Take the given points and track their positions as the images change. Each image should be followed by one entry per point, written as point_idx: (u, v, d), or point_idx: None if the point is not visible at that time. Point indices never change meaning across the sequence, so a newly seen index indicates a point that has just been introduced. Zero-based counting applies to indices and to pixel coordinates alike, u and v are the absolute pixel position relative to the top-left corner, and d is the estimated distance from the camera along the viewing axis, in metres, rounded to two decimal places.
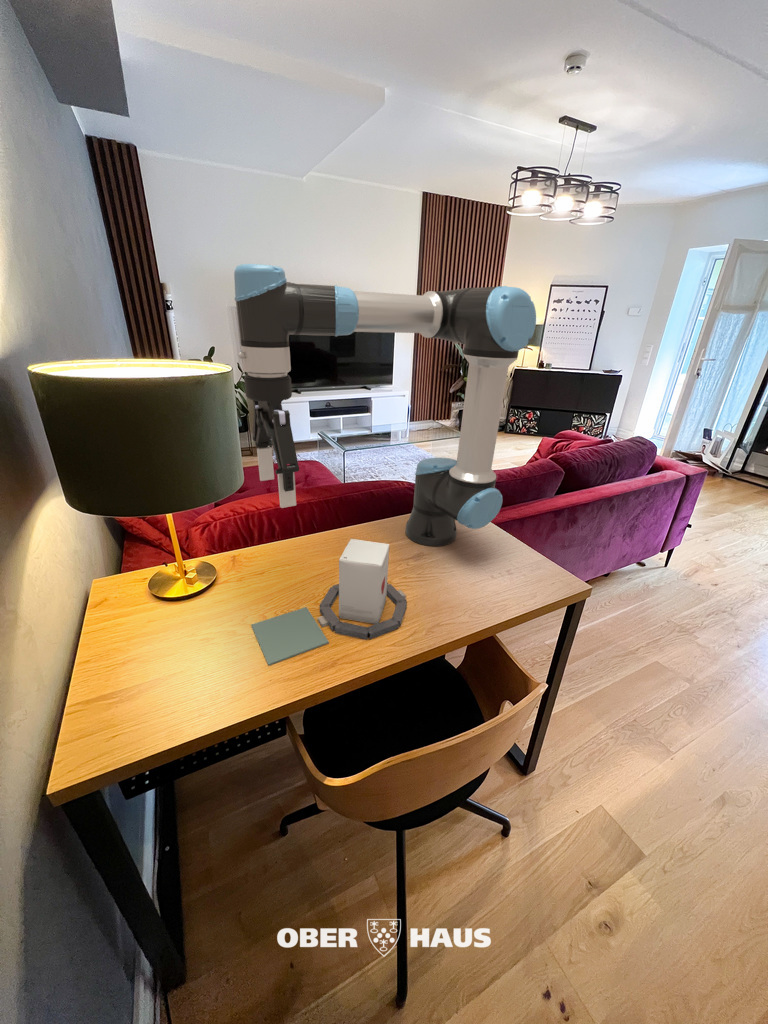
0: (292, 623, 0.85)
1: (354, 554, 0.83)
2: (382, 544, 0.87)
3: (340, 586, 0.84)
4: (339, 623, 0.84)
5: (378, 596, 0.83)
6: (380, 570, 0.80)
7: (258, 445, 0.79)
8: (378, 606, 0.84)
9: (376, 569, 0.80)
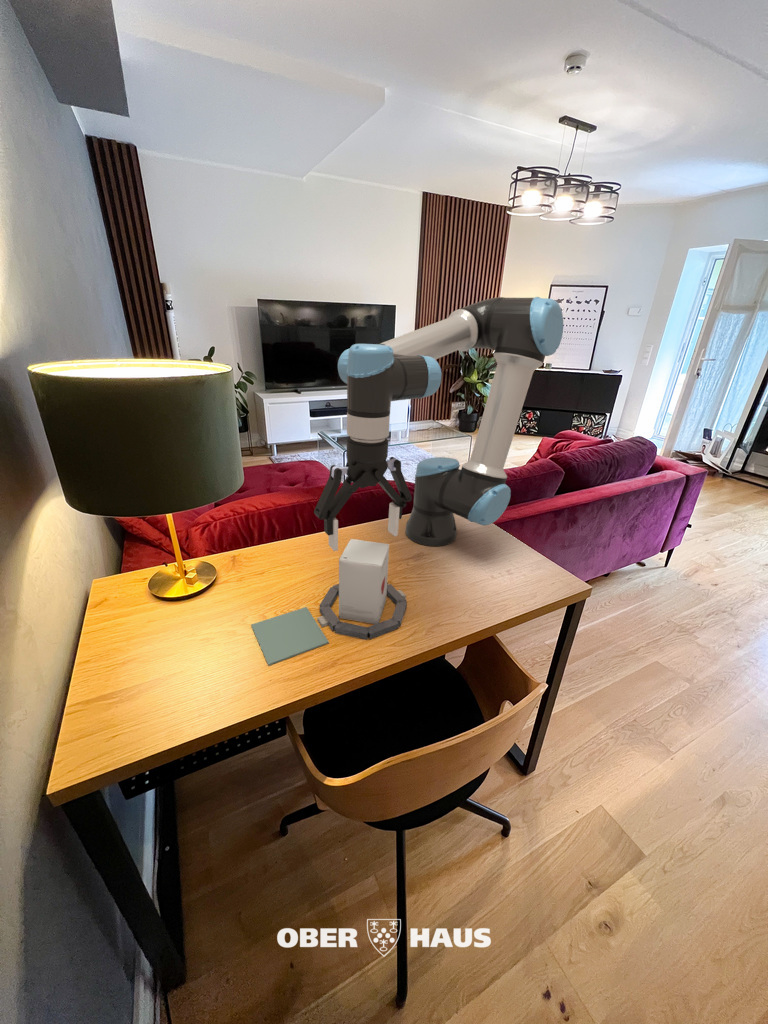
0: (292, 623, 0.85)
1: (354, 554, 0.83)
2: (382, 544, 0.87)
3: (340, 586, 0.84)
4: (339, 623, 0.84)
5: (378, 596, 0.83)
6: (380, 570, 0.80)
7: (393, 500, 0.84)
8: (378, 606, 0.84)
9: (376, 570, 0.80)
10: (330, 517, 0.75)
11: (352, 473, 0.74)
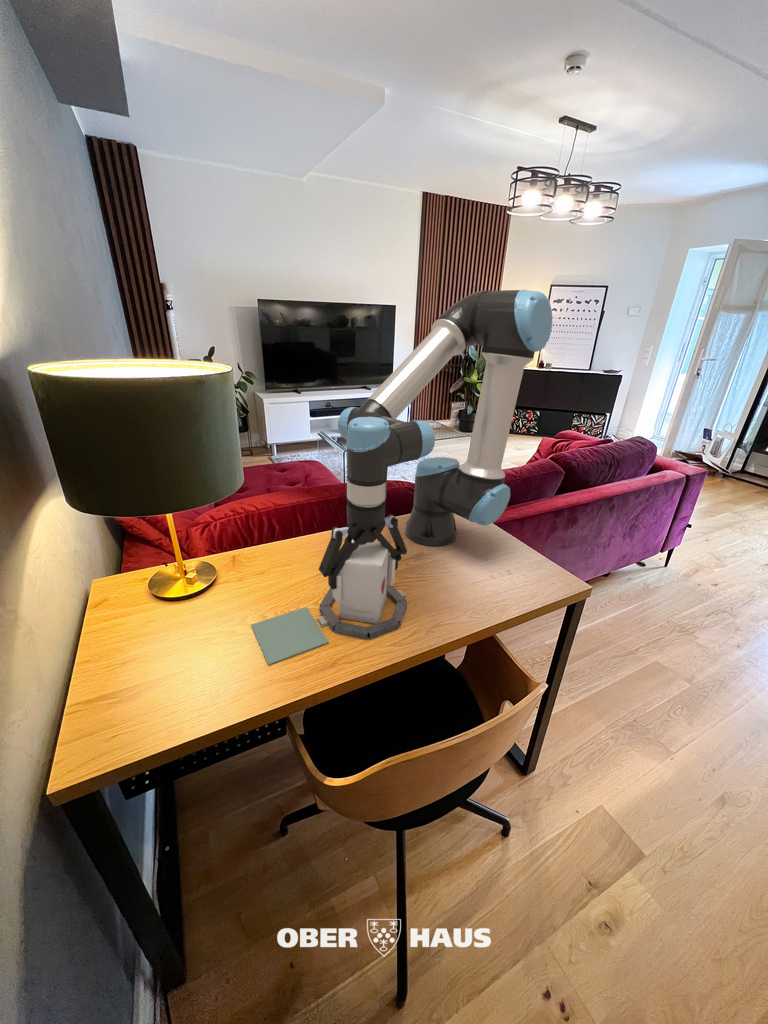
0: (292, 623, 0.85)
1: (354, 554, 0.83)
2: None
3: None
4: (339, 623, 0.84)
5: (378, 596, 0.83)
6: (380, 570, 0.80)
7: (389, 552, 0.89)
8: (378, 606, 0.84)
9: (376, 569, 0.80)
10: (334, 574, 0.81)
11: (352, 533, 0.79)
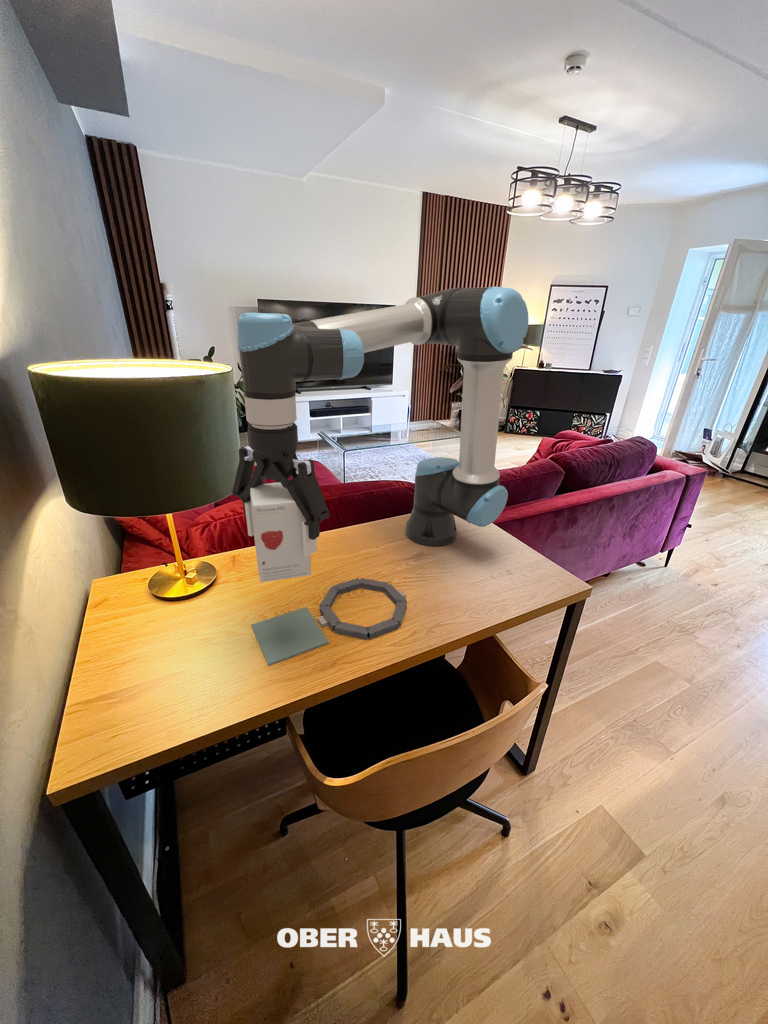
0: (292, 623, 0.85)
1: (265, 488, 0.70)
2: None
3: None
4: (339, 623, 0.84)
5: (256, 545, 0.67)
6: (253, 511, 0.64)
7: None
8: (258, 558, 0.68)
9: None
10: (241, 497, 0.72)
11: (254, 457, 0.67)
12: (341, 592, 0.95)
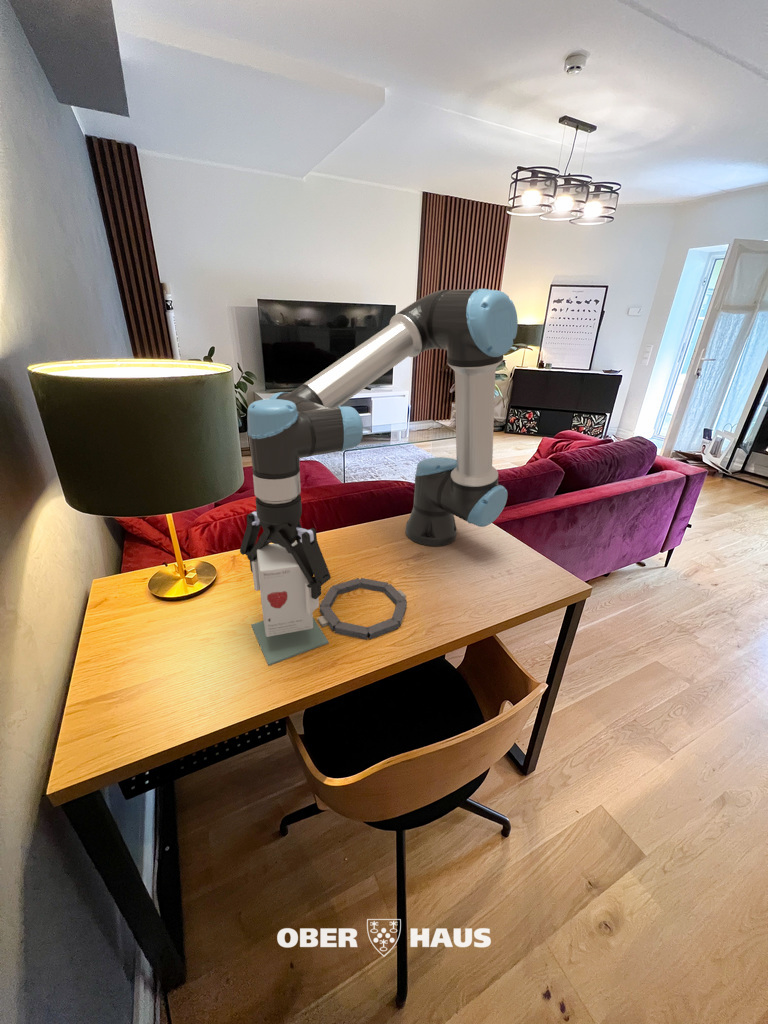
0: None
1: (270, 550, 0.75)
2: None
3: None
4: (339, 623, 0.84)
5: (263, 604, 0.73)
6: (260, 575, 0.70)
7: None
8: (264, 616, 0.74)
9: (259, 573, 0.70)
10: (248, 556, 0.77)
11: (261, 524, 0.72)
12: (341, 592, 0.95)
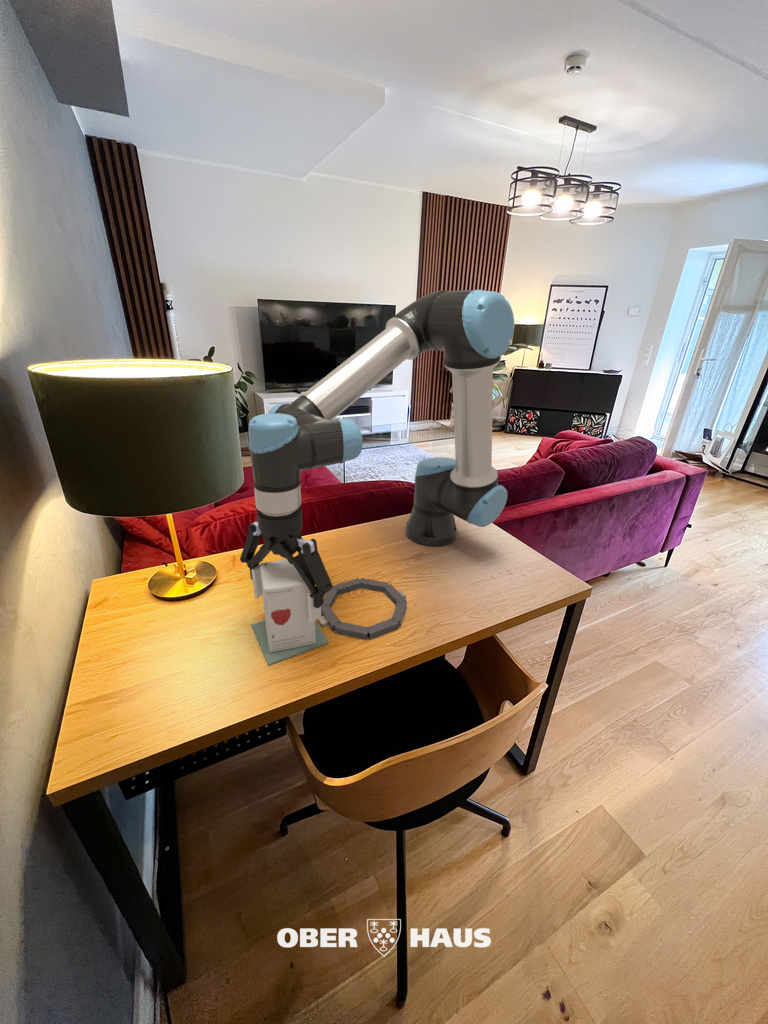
0: None
1: (274, 567, 0.77)
2: None
3: None
4: (339, 623, 0.84)
5: (267, 621, 0.74)
6: (264, 594, 0.71)
7: None
8: (268, 632, 0.75)
9: (263, 591, 0.72)
10: (248, 564, 0.78)
11: (262, 535, 0.73)
12: (341, 592, 0.95)
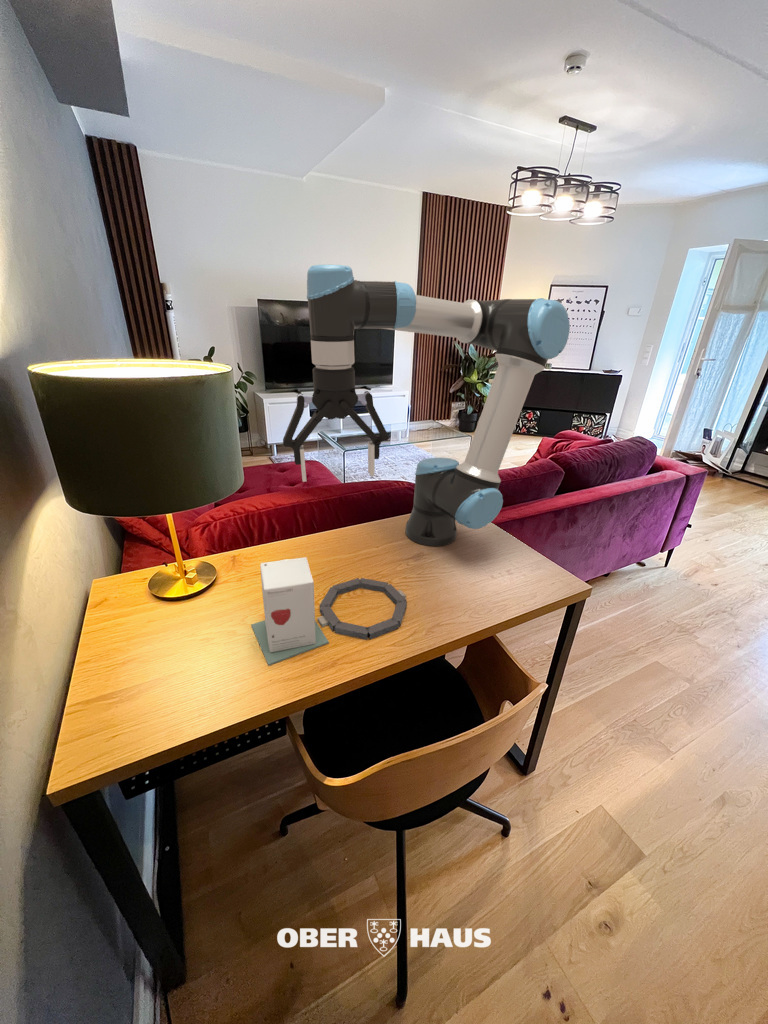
0: None
1: (274, 567, 0.77)
2: (308, 577, 0.74)
3: None
4: (339, 623, 0.84)
5: (267, 621, 0.74)
6: (264, 594, 0.71)
7: None
8: (268, 632, 0.75)
9: (263, 591, 0.72)
10: (295, 445, 0.77)
11: (316, 402, 0.74)
12: (341, 592, 0.95)
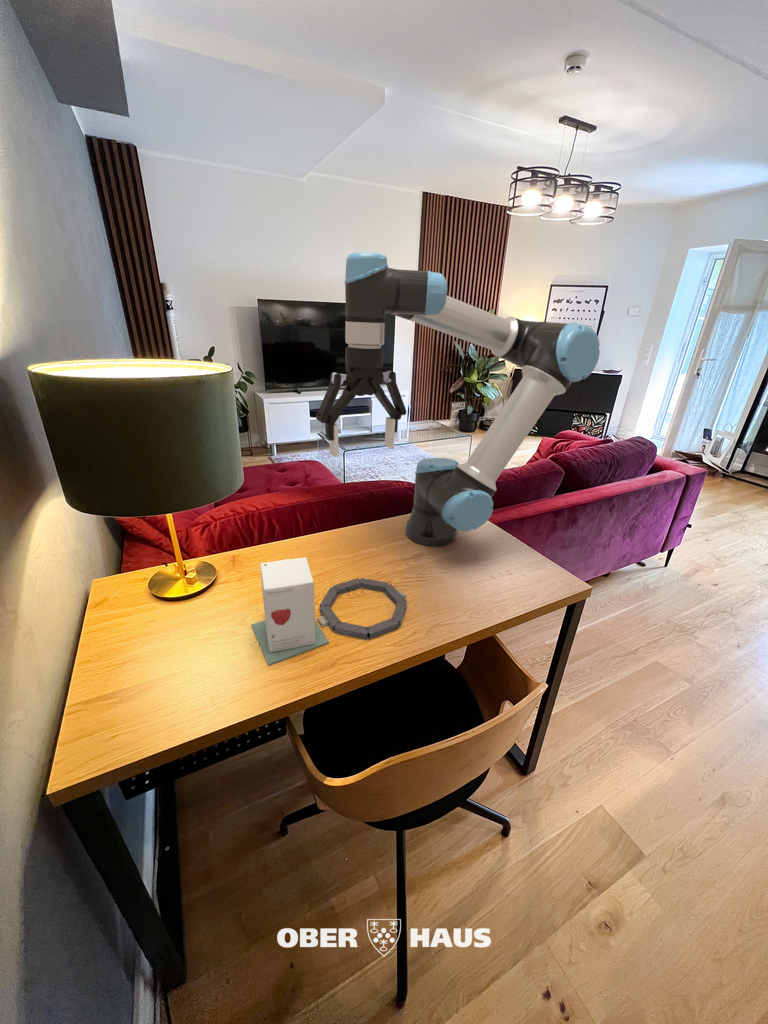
0: None
1: (274, 567, 0.77)
2: (308, 577, 0.74)
3: None
4: (339, 623, 0.84)
5: (267, 621, 0.74)
6: (264, 594, 0.71)
7: (389, 414, 0.90)
8: (268, 632, 0.75)
9: (263, 591, 0.72)
10: (331, 421, 0.81)
11: (350, 379, 0.80)
12: (341, 592, 0.95)
